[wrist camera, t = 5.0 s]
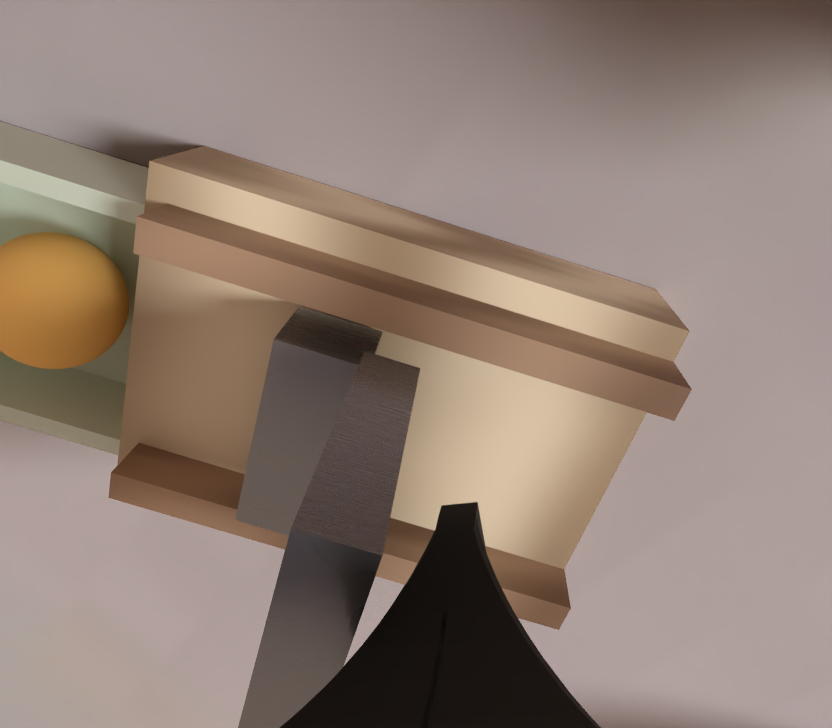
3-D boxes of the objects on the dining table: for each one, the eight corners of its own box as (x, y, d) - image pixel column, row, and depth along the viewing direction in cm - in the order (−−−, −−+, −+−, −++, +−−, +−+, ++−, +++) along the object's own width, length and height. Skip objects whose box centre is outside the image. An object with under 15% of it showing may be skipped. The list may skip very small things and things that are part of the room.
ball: (131, 224, 18) (138, 273, 15) (121, 334, 19) (126, 396, 17) (-19, 202, 16) (-40, 254, 13) (-18, 325, 18) (-37, 393, 15)
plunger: (426, 336, 15) (382, 556, 8) (369, 509, 17) (297, 792, 10) (301, 297, 15) (151, 487, 8) (260, 477, 17) (116, 742, 10)
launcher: (656, 289, 17) (709, 356, 13) (534, 539, 21) (547, 650, 17) (203, 145, 17) (115, 169, 13) (164, 429, 20) (87, 515, 16)
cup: (198, 183, 17) (144, 205, 14) (167, 402, 20) (118, 455, 17) (-41, 108, 17) (-143, 115, 14) (-37, 341, 20) (-119, 384, 17)
